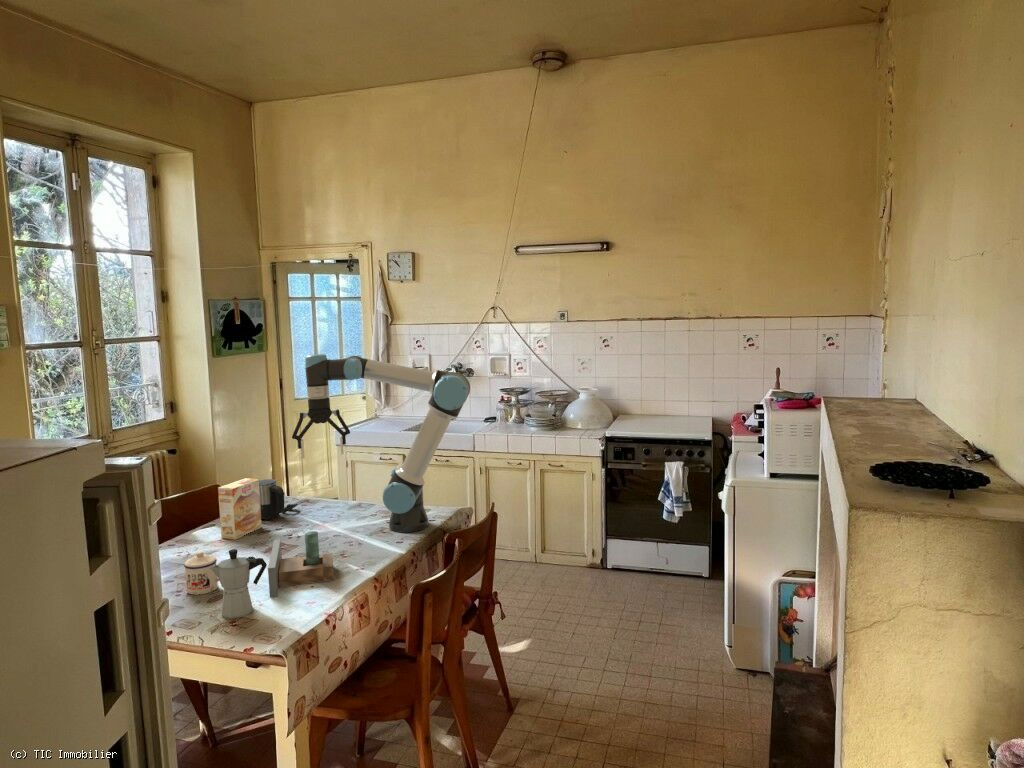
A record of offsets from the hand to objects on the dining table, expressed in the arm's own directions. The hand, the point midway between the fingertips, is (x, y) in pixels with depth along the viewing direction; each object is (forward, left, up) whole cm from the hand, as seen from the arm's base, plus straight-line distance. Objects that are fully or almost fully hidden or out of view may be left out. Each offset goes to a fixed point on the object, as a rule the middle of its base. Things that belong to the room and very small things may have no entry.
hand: (322, 455), depth 248 cm
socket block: (+6, +35, -31) cm, 47 cm away
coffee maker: (+24, +55, -32) cm, 67 cm away
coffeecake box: (+32, -19, -32) cm, 49 cm away
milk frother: (+20, -40, -32) cm, 55 cm away
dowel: (+4, +35, -31) cm, 47 cm away
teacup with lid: (+36, +35, -32) cm, 59 cm away
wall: (+16, +35, -31) cm, 49 cm away
